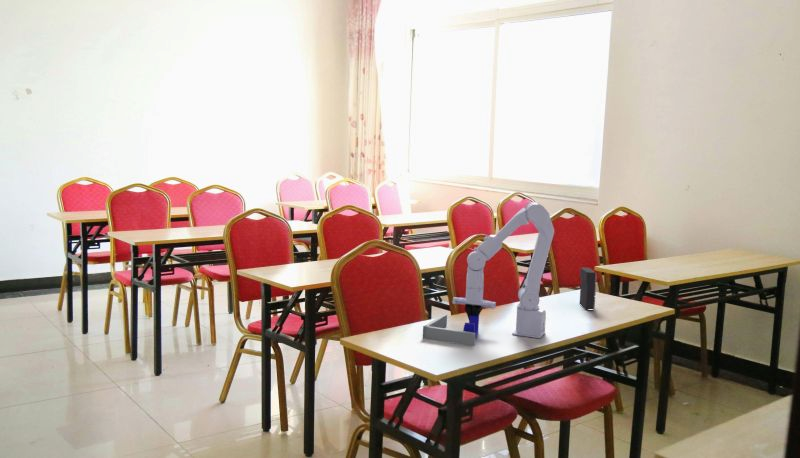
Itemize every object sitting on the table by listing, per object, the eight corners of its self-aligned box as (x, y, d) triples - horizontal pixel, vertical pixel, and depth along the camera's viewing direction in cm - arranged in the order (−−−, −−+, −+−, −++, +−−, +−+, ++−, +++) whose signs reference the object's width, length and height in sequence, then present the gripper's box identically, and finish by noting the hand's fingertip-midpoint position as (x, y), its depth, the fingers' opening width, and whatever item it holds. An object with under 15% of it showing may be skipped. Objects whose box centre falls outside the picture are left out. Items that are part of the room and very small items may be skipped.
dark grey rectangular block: (595, 310, 283) (598, 272, 281) (584, 310, 283) (586, 272, 281) (588, 304, 294) (591, 267, 292) (577, 304, 294) (580, 267, 292)
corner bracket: (491, 332, 246) (491, 320, 246) (473, 346, 229) (474, 333, 228) (443, 325, 253) (443, 314, 252) (422, 338, 236) (423, 326, 235)
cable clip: (464, 332, 245) (465, 314, 245) (478, 333, 244) (479, 315, 244) (459, 341, 234) (460, 323, 233) (473, 342, 233) (474, 324, 232)
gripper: (499, 287, 246) (497, 327, 248) (458, 282, 252) (456, 321, 253) (492, 291, 240) (490, 331, 241) (451, 286, 245) (449, 325, 247)
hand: (472, 326), depth 247 cm, fingers closed
